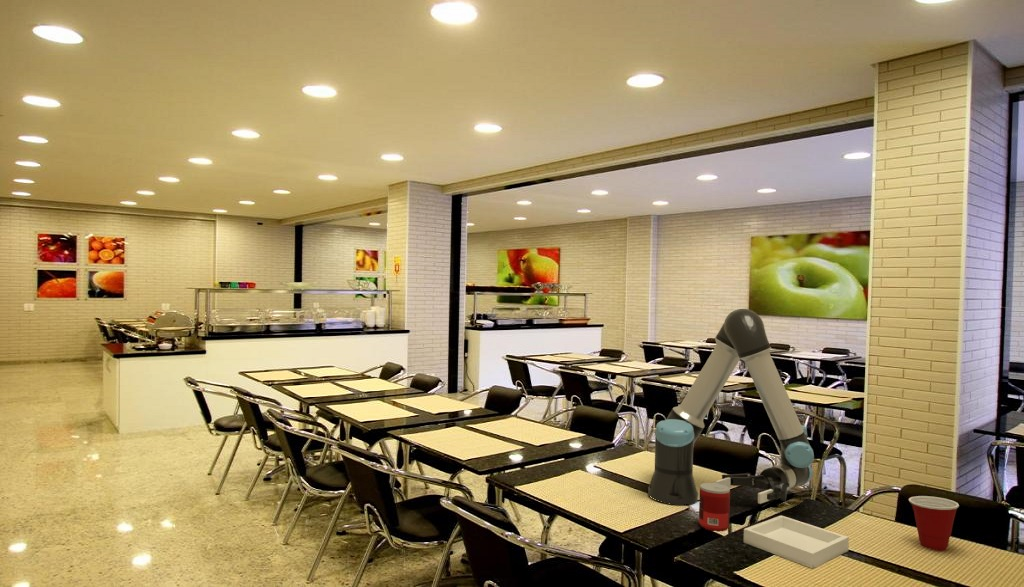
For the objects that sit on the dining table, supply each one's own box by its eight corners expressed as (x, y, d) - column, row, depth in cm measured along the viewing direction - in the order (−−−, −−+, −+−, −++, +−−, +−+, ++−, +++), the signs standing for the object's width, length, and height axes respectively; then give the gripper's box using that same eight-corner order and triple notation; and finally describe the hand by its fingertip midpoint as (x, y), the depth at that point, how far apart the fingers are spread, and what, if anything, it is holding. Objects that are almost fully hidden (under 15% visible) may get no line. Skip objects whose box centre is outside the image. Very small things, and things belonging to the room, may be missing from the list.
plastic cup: (910, 534, 166) (911, 490, 167) (959, 545, 160) (960, 500, 160) (904, 546, 158) (905, 500, 158) (956, 559, 151) (957, 510, 151)
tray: (743, 542, 158) (743, 528, 158) (780, 527, 169) (781, 515, 169) (812, 568, 144) (812, 553, 144) (848, 550, 155) (848, 537, 155)
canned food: (735, 530, 167) (736, 489, 167) (710, 533, 164) (711, 492, 164) (716, 520, 174) (717, 481, 174) (693, 523, 171) (694, 483, 171)
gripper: (817, 502, 177) (778, 518, 165) (740, 481, 197) (700, 493, 185) (817, 476, 177) (778, 490, 165) (740, 458, 197) (700, 468, 185)
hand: (737, 492), depth 175 cm, fingers open, 13 cm apart
